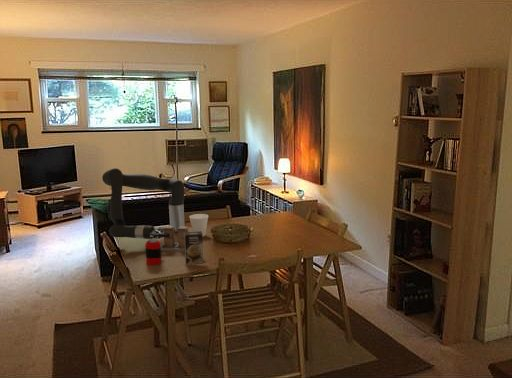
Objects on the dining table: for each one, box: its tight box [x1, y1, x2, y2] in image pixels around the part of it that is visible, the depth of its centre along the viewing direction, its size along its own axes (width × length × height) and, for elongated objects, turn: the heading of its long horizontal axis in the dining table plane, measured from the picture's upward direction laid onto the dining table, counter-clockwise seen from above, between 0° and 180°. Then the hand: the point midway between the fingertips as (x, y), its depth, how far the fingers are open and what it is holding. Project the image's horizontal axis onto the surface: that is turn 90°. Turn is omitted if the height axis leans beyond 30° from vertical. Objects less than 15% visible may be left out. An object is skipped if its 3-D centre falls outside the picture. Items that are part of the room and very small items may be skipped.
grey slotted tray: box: [160, 242, 185, 253], centre depth 263 cm, size 12×21×3 cm, turn 80°
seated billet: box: [177, 225, 189, 249], centre depth 261 cm, size 4×4×12 cm
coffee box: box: [184, 231, 204, 266], centre depth 242 cm, size 9×6×16 cm
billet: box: [163, 225, 176, 248], centre depth 263 cm, size 4×4×12 cm
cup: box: [189, 213, 209, 237], centre depth 291 cm, size 12×12×12 cm
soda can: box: [144, 238, 162, 266], centre depth 243 cm, size 8×8×12 cm
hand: (172, 233), depth 262 cm, fingers open, 8 cm apart
